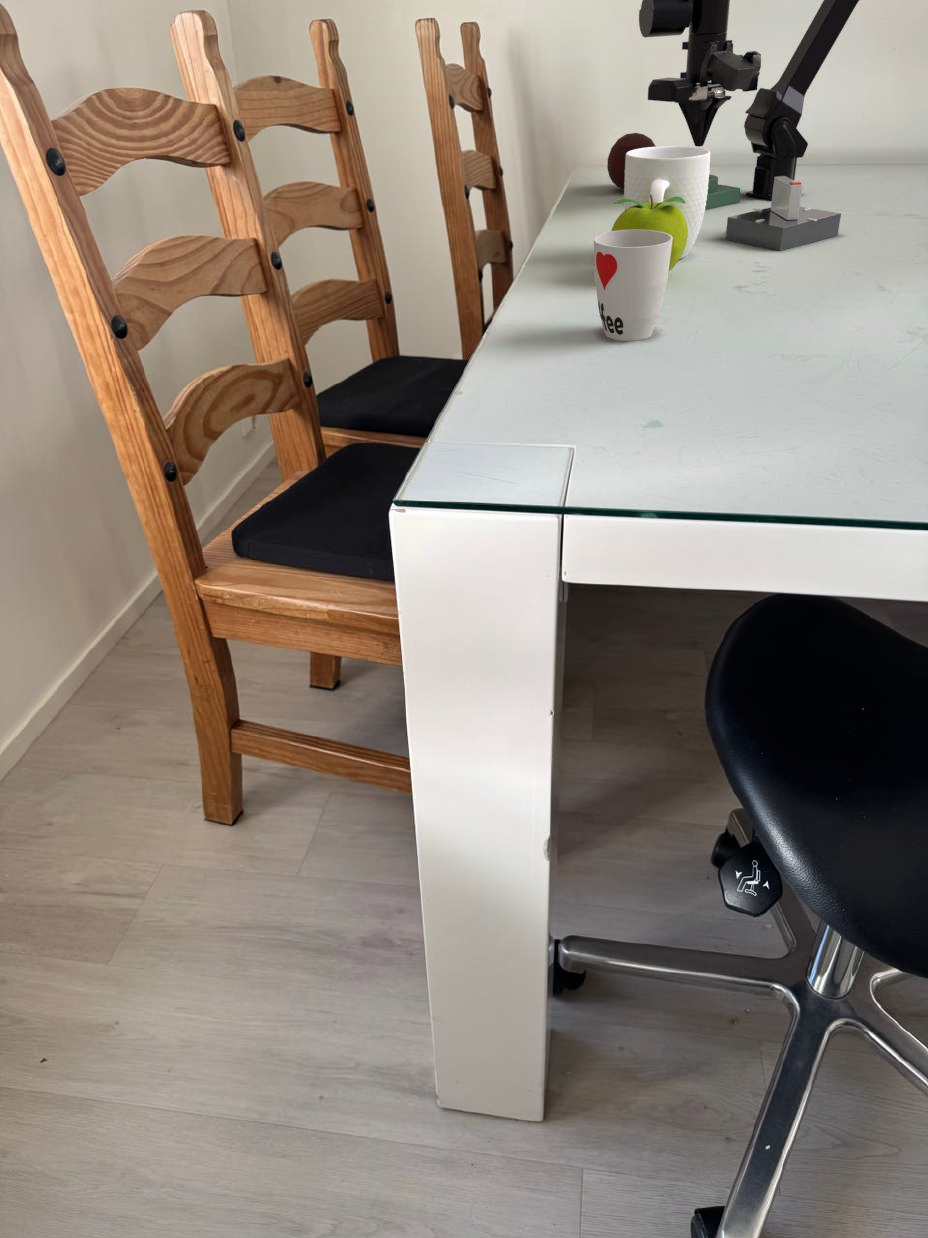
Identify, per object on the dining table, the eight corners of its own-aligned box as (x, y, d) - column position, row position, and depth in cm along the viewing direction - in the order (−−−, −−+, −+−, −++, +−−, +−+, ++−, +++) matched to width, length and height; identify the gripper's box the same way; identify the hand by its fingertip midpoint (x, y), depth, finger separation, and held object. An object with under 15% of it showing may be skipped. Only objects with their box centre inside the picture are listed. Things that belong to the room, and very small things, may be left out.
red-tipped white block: (770, 210, 139) (774, 174, 137) (781, 209, 139) (785, 173, 137) (786, 220, 134) (791, 183, 131) (798, 219, 134) (803, 182, 131)
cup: (585, 325, 109) (586, 232, 103) (656, 319, 109) (661, 226, 104) (599, 348, 102) (602, 249, 97) (675, 342, 103) (682, 243, 97)
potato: (660, 183, 176) (664, 127, 171) (648, 196, 167) (651, 137, 162) (613, 183, 179) (615, 127, 174) (599, 196, 170) (600, 138, 165)
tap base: (779, 224, 145) (782, 202, 143) (841, 236, 137) (845, 212, 135) (722, 238, 140) (724, 215, 138) (783, 251, 132) (786, 226, 130)
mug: (695, 273, 124) (704, 162, 117) (610, 271, 127) (613, 163, 120) (706, 247, 136) (715, 144, 129) (628, 245, 139) (632, 145, 132)
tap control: (699, 195, 166) (701, 169, 164) (739, 201, 160) (741, 175, 158) (652, 205, 161) (653, 179, 159) (690, 212, 155) (692, 185, 153)
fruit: (668, 289, 119) (674, 202, 114) (599, 282, 123) (601, 198, 118) (695, 272, 125) (701, 189, 120) (628, 266, 130) (631, 185, 124)
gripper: (702, 38, 137) (693, 158, 146) (791, 28, 146) (777, 143, 154) (648, 37, 145) (642, 151, 154) (735, 28, 153) (725, 137, 162)
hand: (699, 145), depth 156 cm, fingers closed
